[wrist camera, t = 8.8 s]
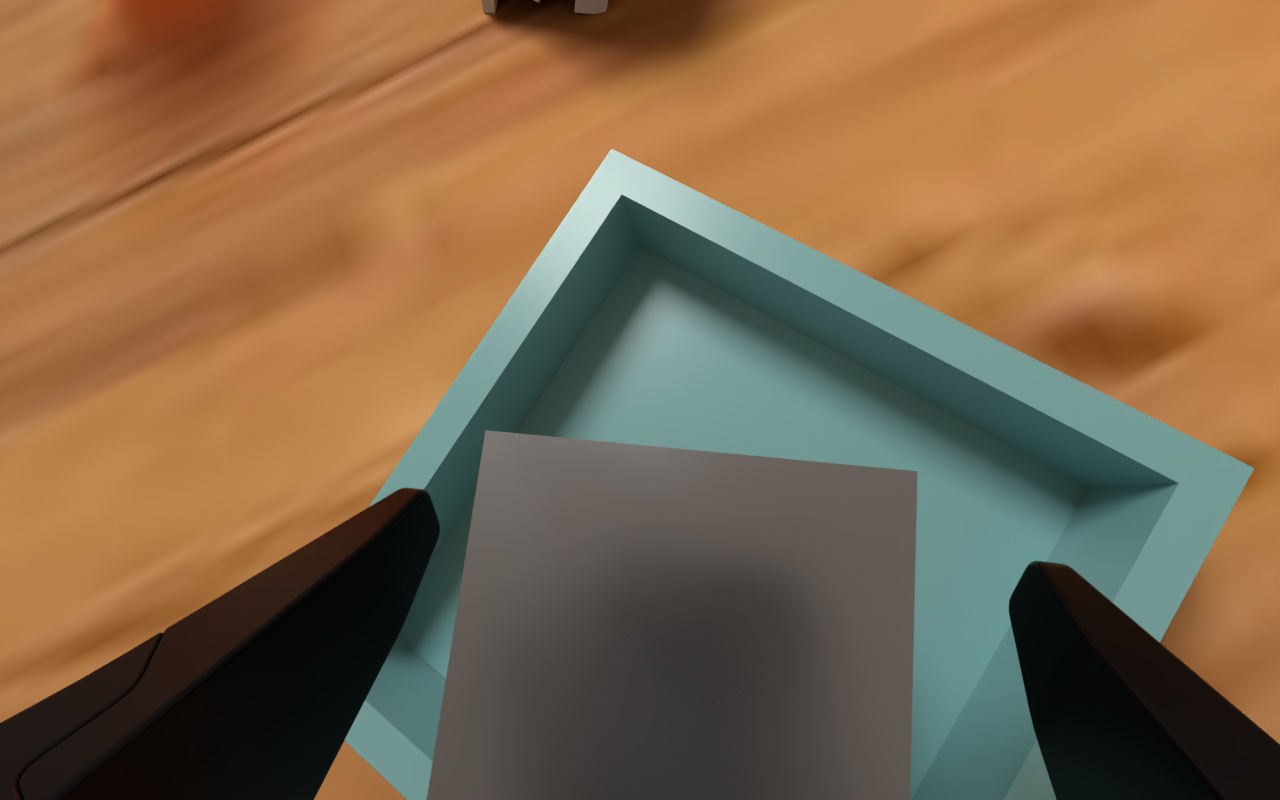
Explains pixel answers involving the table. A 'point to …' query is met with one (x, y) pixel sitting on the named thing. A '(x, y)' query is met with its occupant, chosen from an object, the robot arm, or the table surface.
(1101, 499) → the bin
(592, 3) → the magnetic glass cleaner
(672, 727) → the strut
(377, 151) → the table surface
